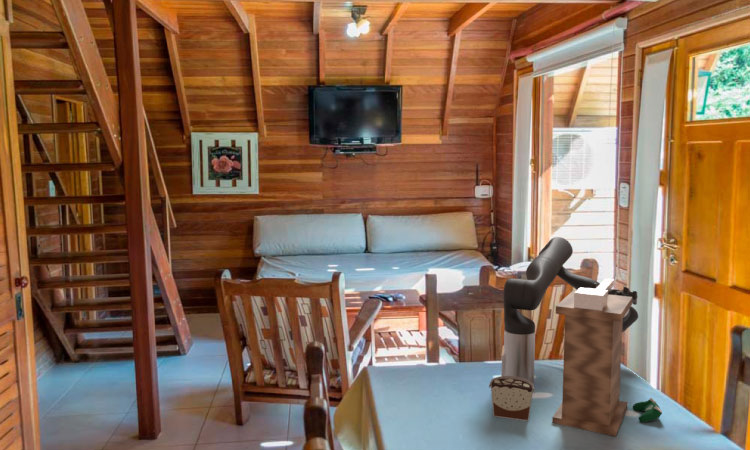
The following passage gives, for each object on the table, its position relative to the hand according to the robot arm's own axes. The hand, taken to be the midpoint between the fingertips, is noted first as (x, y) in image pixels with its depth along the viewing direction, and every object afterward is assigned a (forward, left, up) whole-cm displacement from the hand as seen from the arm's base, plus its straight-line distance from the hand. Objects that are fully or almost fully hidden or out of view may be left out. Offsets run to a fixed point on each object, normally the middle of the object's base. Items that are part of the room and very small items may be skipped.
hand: (609, 287), depth 183 cm
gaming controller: (+14, -16, -32) cm, 38 cm away
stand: (0, -23, -31) cm, 38 cm away
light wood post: (0, -16, +1) cm, 16 cm away
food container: (-19, -33, -31) cm, 49 cm away
